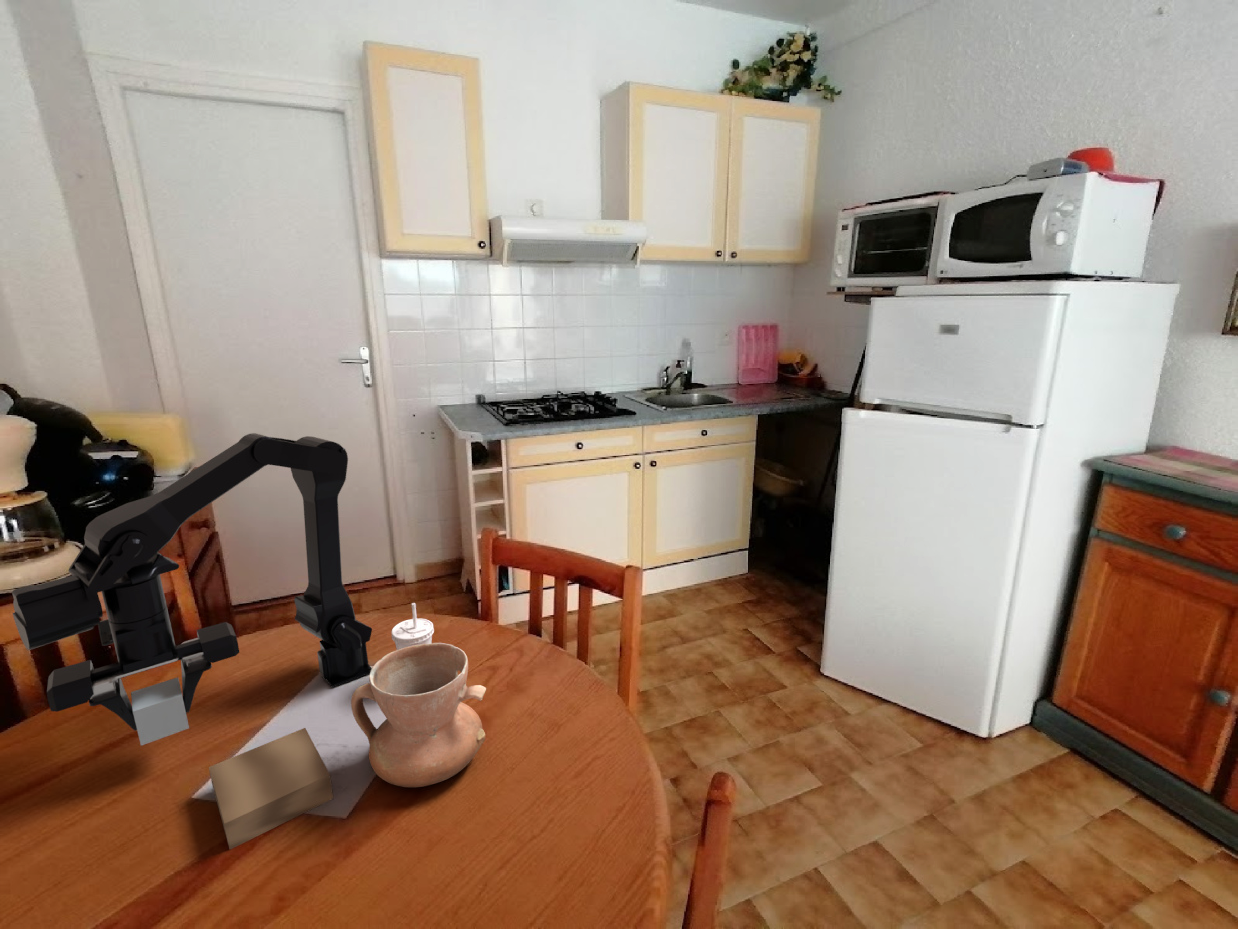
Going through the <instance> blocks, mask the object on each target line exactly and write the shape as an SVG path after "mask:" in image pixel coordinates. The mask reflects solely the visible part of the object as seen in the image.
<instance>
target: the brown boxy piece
mask: <svg viewBox="0 0 1238 929" xmlns="http://www.w3.org/2000/svg"><path fill="white" fill-rule="evenodd" d="M319 753H320V752H319V751H318V749H317V748H316V746H315V743H314V741H313V740H312V738H311V736H310V734H309V732H308V730H307V728H306V727H303V728H301V729H298V730H296V731H294V732H291V733H289V734H286V735H284V736H282V737H279V738H276V739H273V740H272V741H269V742H267V743H264V744H262V745H259V746H257V747H255V748H252V749H249V750H247V751H244V752H242V753H240V754H238V755H235V756H233V757H230V758H227V759H225V760H223V761H221V762H218V763H216V764H215V763H214V764H213V765H211V766H209V767H208V770H209V775H210V780H211V781H210V782H211V784H212V790H213V794H214V798H215V801H216V805H217V808H218V812H219V815H220V818H221V822H222V826H223V830H224V834H225V837H226V841H227V845H228V848H229V850H232V849H234V848H236V847H238V846H240V845H242V844H244V843H247V842H249V841H250V840H252V839H255V838H256V837H259V836H260V835H262V834H265V833H266V832H269V831H270V830H273V829H275V828H276V827H277V828H278V826H281V825H282V824H284V823H285V824H286V823H287V822H289V821H291V820H293V819H295V818H297V817H299V816H302V815H303V814H305V813H308V812H309V811H311V810H313V809H315V808H317V807H320V806H322V805H323V804H325V803H327V802H330V801H331V800H334V793H333V787H332V780H331V774H330V772H329V770H328V768H327V766H326V765H325V763H324V761H323V758H322V757H321V755H320V754H319Z"/></svg>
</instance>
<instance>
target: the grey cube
mask: <svg viewBox="0 0 1238 929" xmlns="http://www.w3.org/2000/svg"><path fill="white" fill-rule="evenodd" d="M130 695H131V696H130V698H131V705H132V709H133V715H134V719H135V723H136V727H137V730H136V731H137V735H138V739H139V743H140V746H144V745H146V744H150V743H153V742H155V741H158V740H160V739H164V738H166V737H169V736H171V735H174V734H177V733H179V732H183V731H185V730H188V729H190V726H189V721H188V716H187V713H186V711H185V706H184V701H183V694H182V687H181V683H180V680H179V677H174V678H172V679H169V680H165V681H161V682H158V683H155V684H152V685H149V686H146V687H143V688H140V689H137V690H134V691H133V690H132V691H131V692H130Z"/></svg>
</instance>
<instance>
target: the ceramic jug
mask: <svg viewBox="0 0 1238 929" xmlns="http://www.w3.org/2000/svg"><path fill="white" fill-rule="evenodd" d="M371 668H372V669H371V672H370V674H368V676H369V682H367V683H364V684H363V685H360V686H358V687H357V688H356V689H355V690H354V692H353V693H352V696H351V700H350V701H351V702H350V704H351V711H352V715H353V718H354V720H355V722H356V724H357V726H359V728H360V730H361V731H362V732H363V733H364V734H365V736H366V737H367V739H368V743H369V747H368V759H369V763H370V766H371V768H372V770H373V771H374V773H375V774H376V775H377V776H378V777H379V779H382V780H383V781H385V782H387V783H389V784H391V785H394V786H397V787H403V788H421V787H427V786H431V785H434V784H439V783H440V782H443V781H445V780H448V779H450V778H452V777H454V776H455V775H457V774H458V773H459V772H461V771H462V770H464V768H465V767H467V766H468V765H469V763H471V761H472V759H473V758H474V757H475V756H476V754H477V753H478V751H479V750H480V748H481V747H482V746H483V744H484V742H485V740H486V732H485V730H484V729H483V723H482V719H481V718H480V716H479V714H478V713H477V712H476V710H474V709H473V708H472V707H471V706H469V705H468V704H467V703H464V702H463V701H466V700H469V699H476V700H478V701H480V702H481V701H482V700H483V698H484V695H485V692H486V690H487V687H486V686H483V685H480V684H478V685H475V684H474V685H470V686H467V679H468V673H469V672H468V671H469V660H468V656H467V654H466V652H465V651H464V650H462V649H461V648H459V647H457V646H455V645H453V644H450V643H443V642H431V644H421V645H413V646H410V647H405V648H402V649H399V650H397V649H396V650H394V651H392V652H388V653H387V654H386V655H384V656H383V657H382V658H380V659H379V660H377V661H376V663H374V665H373V666H372V667H371ZM459 672H460V673H459ZM364 698H366V699H369V700H372V701H374V702H376V704H377V705H378V707H379V709H380V711H381V712H382V714H383V716H384V717H385V720H384V721H383V722H382V723H381V724H379V726H378V727H376V726H375V725H374V723H373V722H372V721H371V718H370V717H369V714H368V713H367V710H366V708H365V705H364V700H363V699H364Z"/></svg>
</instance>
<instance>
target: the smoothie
mask: <svg viewBox="0 0 1238 929" xmlns="http://www.w3.org/2000/svg"><path fill="white" fill-rule="evenodd" d="M416 608H417V604H416V603H415V602H412V603H411V612H412V618H411V619H407V620H403V621H400V622H399V623H397V624H395V625H394V626H393V628H392V630H391V640H392V641H393V642H394V644H395V648H396V650H399V649H402V648H405V647H410V646H413V645H421V644H431V643H433V642H432V639H433V635H434V632H435V628H434V623H433V622H432V621H430V620H428V619H426V618H418V617H417V609H416Z"/></svg>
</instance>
